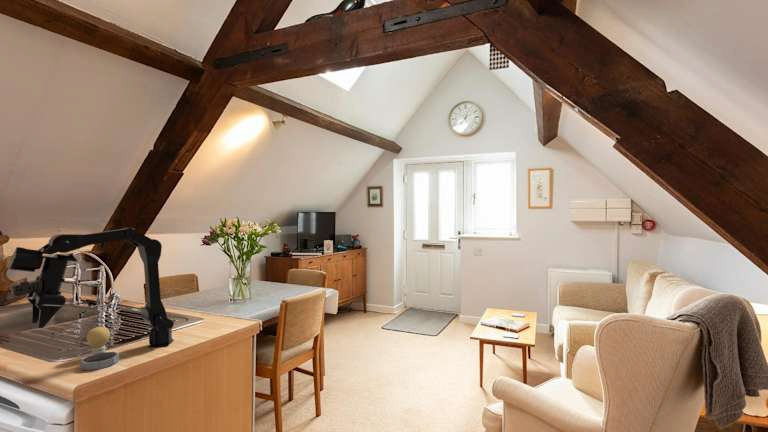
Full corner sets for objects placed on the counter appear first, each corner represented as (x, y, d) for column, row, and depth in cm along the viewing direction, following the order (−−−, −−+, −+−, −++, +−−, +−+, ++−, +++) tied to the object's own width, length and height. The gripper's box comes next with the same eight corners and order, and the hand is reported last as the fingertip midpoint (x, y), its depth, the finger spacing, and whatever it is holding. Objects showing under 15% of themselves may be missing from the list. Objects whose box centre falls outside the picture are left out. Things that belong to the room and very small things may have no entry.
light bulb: (114, 352, 134) (114, 324, 134) (101, 359, 128) (101, 329, 128) (96, 353, 134) (95, 324, 134) (82, 359, 128) (81, 330, 128)
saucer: (123, 357, 129) (123, 350, 129) (109, 368, 120) (109, 361, 120) (91, 360, 127) (91, 353, 127) (74, 371, 118) (74, 364, 118)
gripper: (12, 268, 118) (-4, 319, 115) (24, 273, 106) (5, 330, 103) (57, 272, 126) (43, 320, 123) (73, 277, 115) (57, 330, 112)
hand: (37, 325), depth 115 cm, fingers open, 9 cm apart
